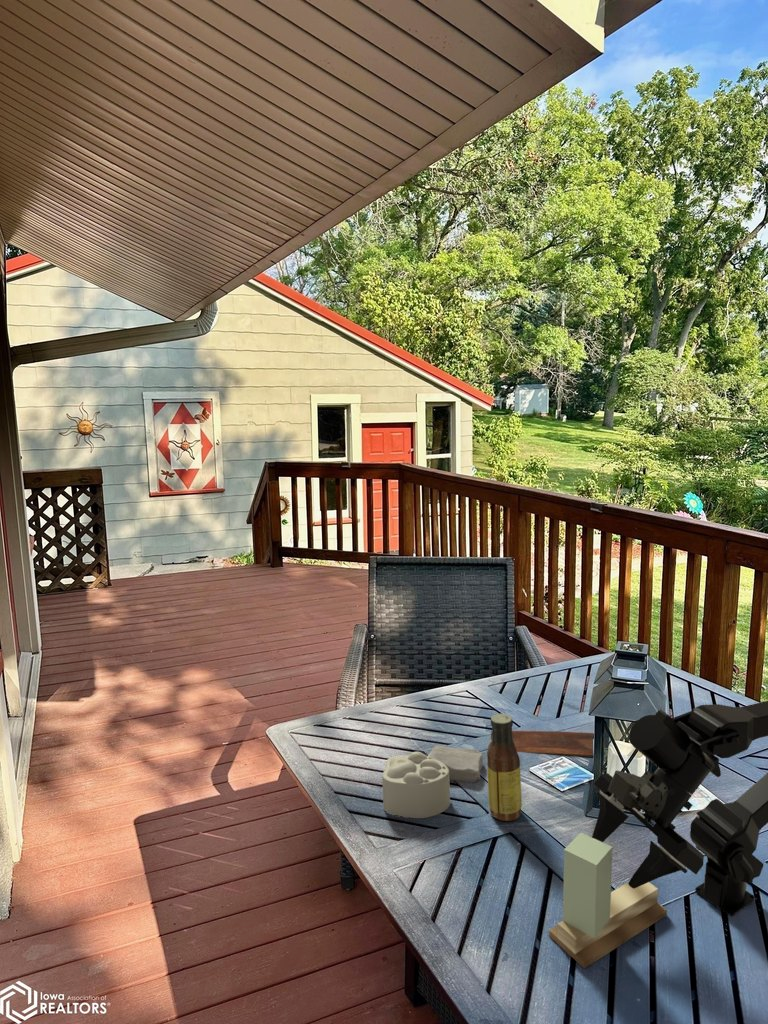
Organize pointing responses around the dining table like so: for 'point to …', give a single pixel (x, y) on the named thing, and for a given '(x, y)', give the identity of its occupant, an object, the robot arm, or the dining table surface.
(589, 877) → the sage post
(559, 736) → the wooden tablet
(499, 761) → the sauce bottle
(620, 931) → the birch ridge
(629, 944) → the dining table surface
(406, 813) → the lumpy-topped squat cylinder
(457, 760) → the stone block
